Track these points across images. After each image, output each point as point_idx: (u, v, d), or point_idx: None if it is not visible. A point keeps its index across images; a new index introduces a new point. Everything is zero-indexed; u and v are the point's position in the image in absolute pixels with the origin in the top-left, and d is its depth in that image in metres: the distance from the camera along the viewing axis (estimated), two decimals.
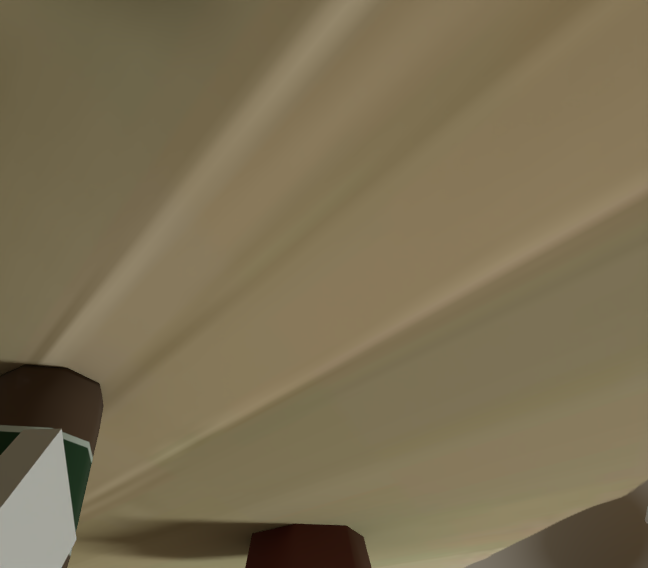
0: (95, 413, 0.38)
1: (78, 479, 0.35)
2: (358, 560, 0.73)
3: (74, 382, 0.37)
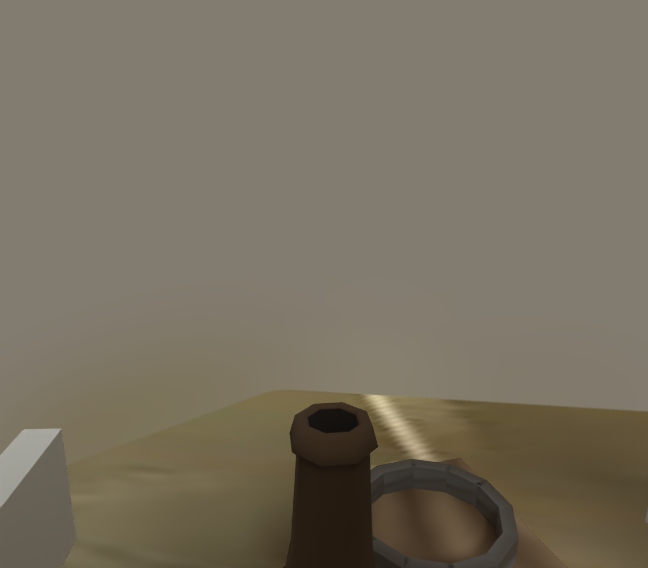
0: None
1: None
2: None
3: None
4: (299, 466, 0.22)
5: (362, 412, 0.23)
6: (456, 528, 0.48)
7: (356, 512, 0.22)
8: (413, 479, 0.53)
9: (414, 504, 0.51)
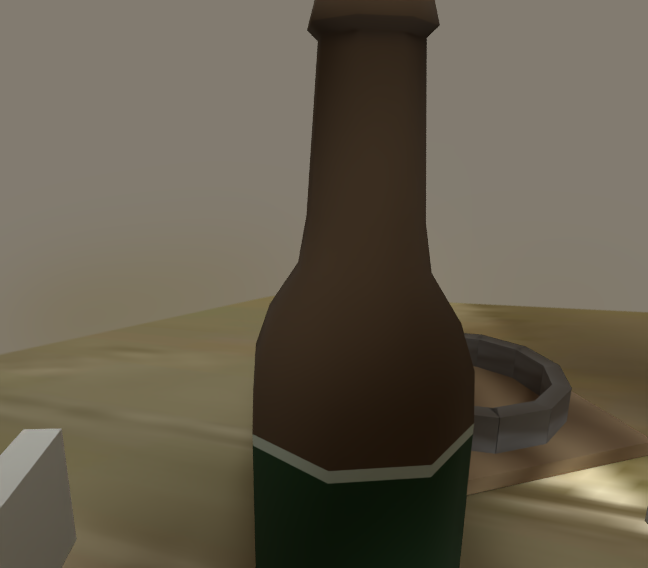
0: None
1: None
2: None
3: None
4: (322, 53, 0.15)
5: None
6: (492, 394, 0.41)
7: (407, 120, 0.15)
8: None
9: None
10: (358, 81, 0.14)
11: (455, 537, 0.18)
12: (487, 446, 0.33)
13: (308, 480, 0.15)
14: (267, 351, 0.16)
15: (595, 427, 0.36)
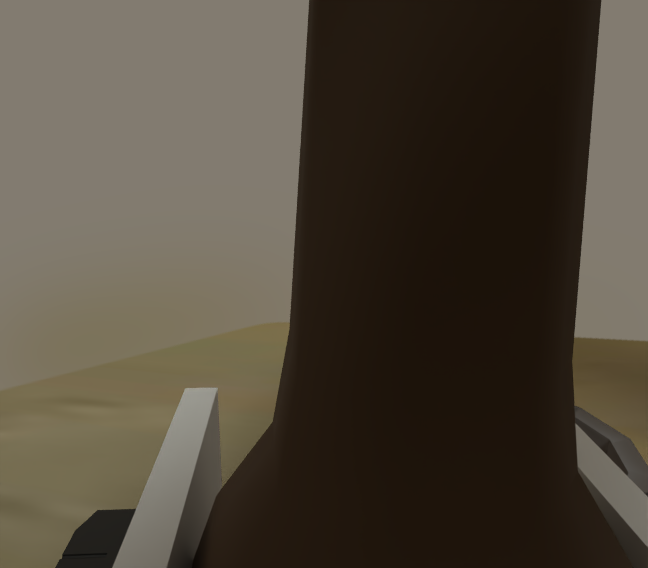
0: None
1: None
2: None
3: None
4: None
5: None
6: None
7: (565, 117, 0.05)
8: None
9: None
10: (435, 0, 0.05)
11: None
12: None
13: None
14: None
15: None
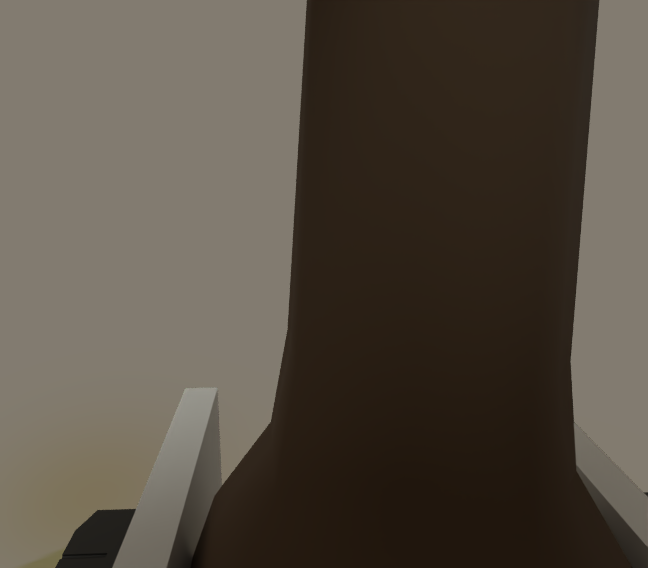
0: None
1: None
2: None
3: None
4: None
5: None
6: None
7: (564, 116, 0.05)
8: None
9: None
10: None
11: None
12: None
13: None
14: None
15: None
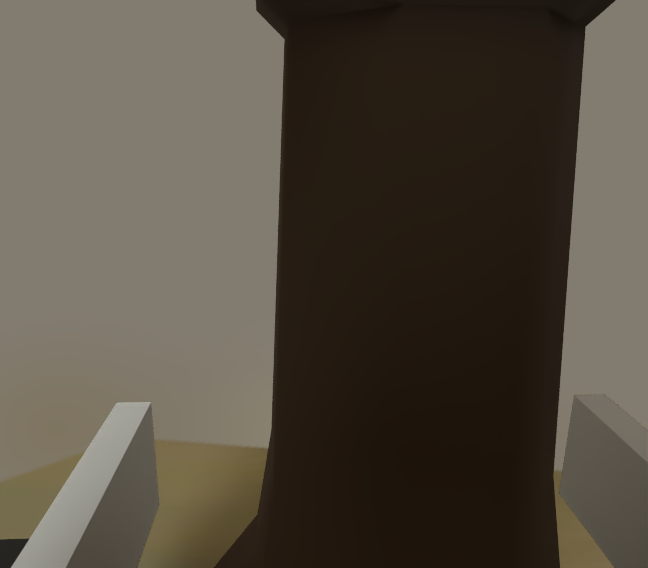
0: None
1: None
2: None
3: None
4: (291, 76, 0.05)
5: None
6: None
7: (536, 268, 0.05)
8: None
9: None
10: (399, 166, 0.05)
11: None
12: None
13: None
14: None
15: None
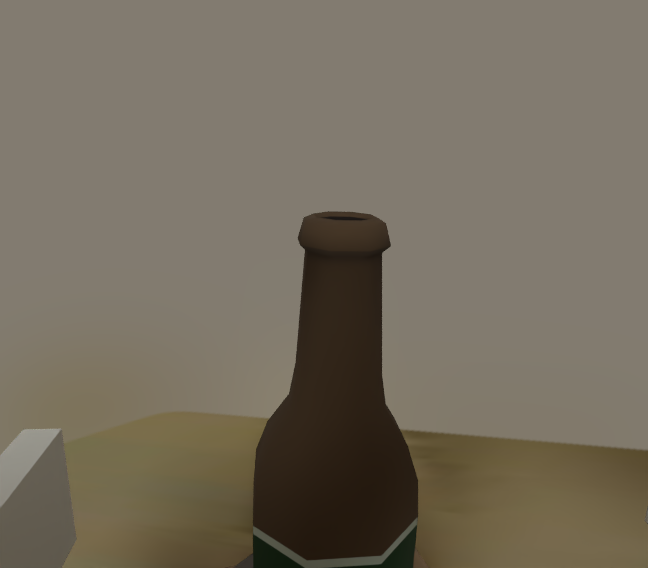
0: None
1: None
2: None
3: None
4: (307, 264, 0.21)
5: (374, 216, 0.21)
6: None
7: (366, 313, 0.21)
8: None
9: None
10: (332, 290, 0.20)
11: None
12: None
13: (292, 564, 0.21)
14: (264, 467, 0.22)
15: None
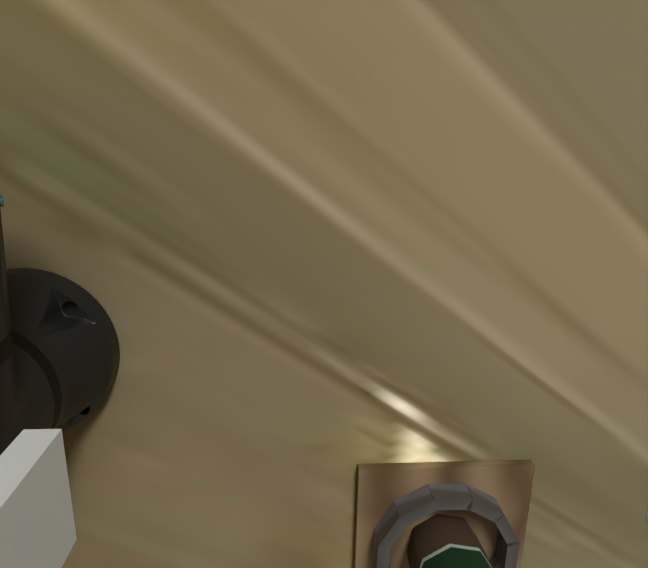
0: (443, 528, 0.53)
1: (456, 565, 0.48)
2: None
3: (421, 528, 0.54)
4: None
5: None
6: None
7: None
8: None
9: None
10: None
11: None
12: (470, 487, 0.54)
13: None
14: None
15: (382, 491, 0.54)
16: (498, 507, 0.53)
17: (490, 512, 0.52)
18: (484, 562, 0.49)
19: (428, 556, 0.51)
